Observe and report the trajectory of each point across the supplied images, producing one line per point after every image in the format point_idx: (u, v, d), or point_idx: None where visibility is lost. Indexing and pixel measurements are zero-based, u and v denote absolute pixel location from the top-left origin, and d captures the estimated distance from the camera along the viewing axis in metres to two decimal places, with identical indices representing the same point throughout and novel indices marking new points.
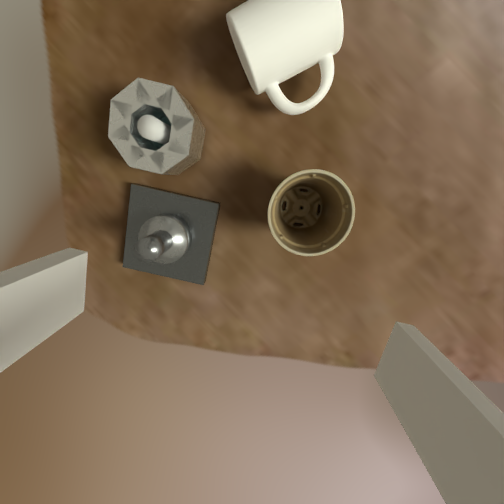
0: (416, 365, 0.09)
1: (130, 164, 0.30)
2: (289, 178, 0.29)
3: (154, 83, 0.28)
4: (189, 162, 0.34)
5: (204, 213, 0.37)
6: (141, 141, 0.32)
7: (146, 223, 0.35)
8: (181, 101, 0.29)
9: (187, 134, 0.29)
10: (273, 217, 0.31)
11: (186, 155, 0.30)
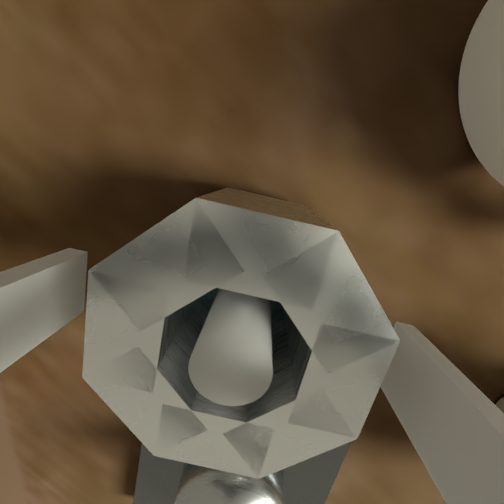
0: (416, 366, 0.09)
1: (158, 450, 0.09)
2: None
3: (260, 219, 0.07)
4: None
5: None
6: (189, 349, 0.10)
7: (189, 498, 0.14)
8: (362, 283, 0.07)
9: (364, 383, 0.08)
10: None
11: (350, 438, 0.09)
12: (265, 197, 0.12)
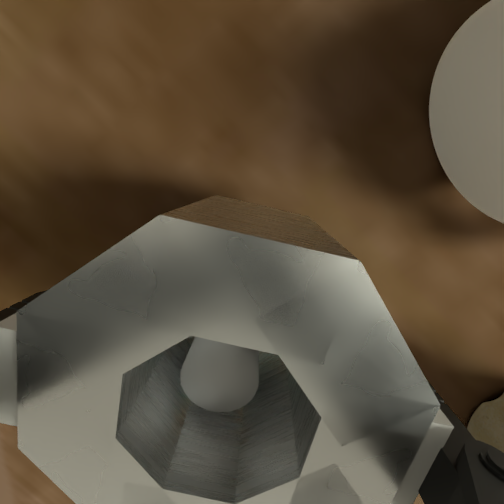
0: None
1: None
2: None
3: (250, 244, 0.05)
4: None
5: None
6: (165, 398, 0.08)
7: None
8: (391, 331, 0.05)
9: (389, 457, 0.06)
10: None
11: None
12: (260, 207, 0.10)
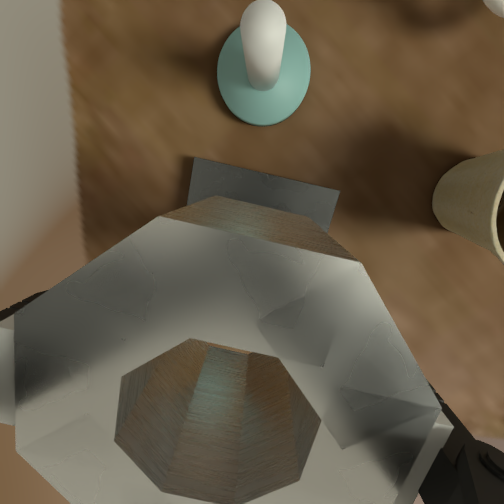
0: None
1: None
2: None
3: (250, 246, 0.05)
4: None
5: (314, 206, 0.22)
6: (164, 400, 0.08)
7: None
8: (392, 333, 0.05)
9: (391, 460, 0.06)
10: None
11: None
12: (260, 208, 0.10)
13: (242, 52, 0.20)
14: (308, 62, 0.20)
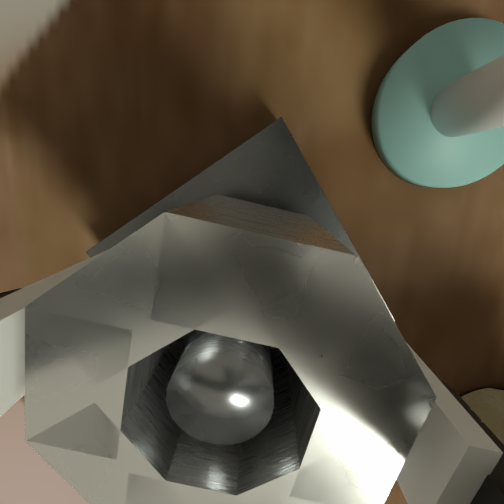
0: None
1: None
2: None
3: (252, 240, 0.05)
4: None
5: None
6: None
7: None
8: (388, 324, 0.06)
9: (387, 448, 0.06)
10: None
11: None
12: (260, 206, 0.10)
13: (464, 56, 0.12)
14: None
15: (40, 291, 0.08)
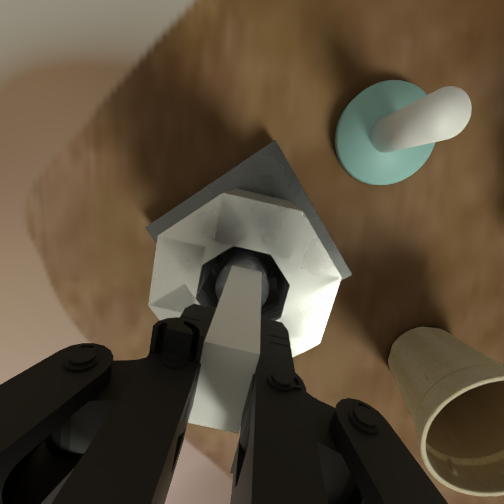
0: None
1: None
2: None
3: (259, 205, 0.12)
4: None
5: None
6: (211, 295, 0.16)
7: None
8: (317, 242, 0.13)
9: (321, 305, 0.13)
10: None
11: (315, 343, 0.14)
12: (262, 195, 0.17)
13: (389, 102, 0.19)
14: (423, 162, 0.20)
15: (231, 307, 0.09)
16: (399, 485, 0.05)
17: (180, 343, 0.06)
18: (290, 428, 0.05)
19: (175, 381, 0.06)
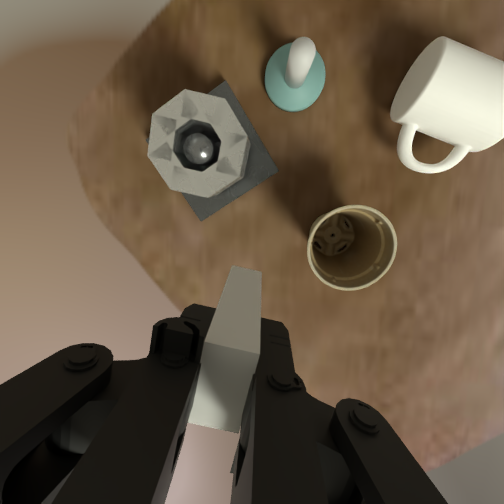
0: None
1: (172, 186, 0.27)
2: (364, 207, 0.28)
3: (203, 95, 0.24)
4: (234, 182, 0.30)
5: (260, 166, 0.34)
6: (183, 159, 0.28)
7: None
8: (233, 116, 0.25)
9: (238, 153, 0.26)
10: (319, 224, 0.30)
11: (236, 177, 0.26)
12: None
13: None
14: (318, 94, 0.32)
15: (231, 307, 0.09)
16: (399, 485, 0.05)
17: (180, 343, 0.06)
18: (290, 428, 0.05)
19: (175, 381, 0.06)
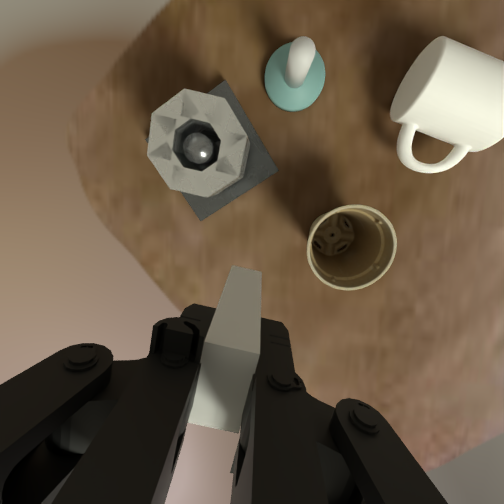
0: None
1: (171, 186, 0.27)
2: (364, 207, 0.28)
3: (202, 94, 0.24)
4: (233, 182, 0.30)
5: (260, 166, 0.34)
6: (183, 159, 0.28)
7: None
8: (233, 115, 0.25)
9: (238, 152, 0.26)
10: None
11: (236, 176, 0.26)
12: None
13: None
14: (318, 94, 0.32)
15: (231, 308, 0.09)
16: (399, 485, 0.05)
17: (180, 343, 0.06)
18: (290, 428, 0.05)
19: (175, 381, 0.06)
